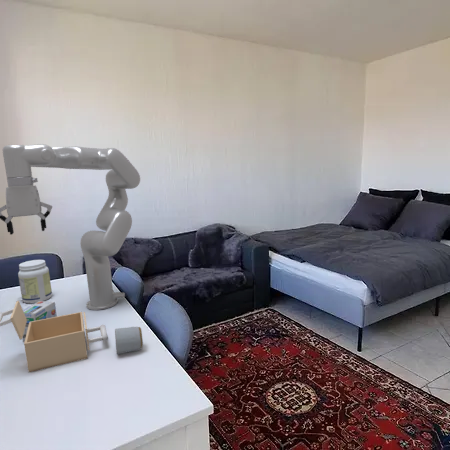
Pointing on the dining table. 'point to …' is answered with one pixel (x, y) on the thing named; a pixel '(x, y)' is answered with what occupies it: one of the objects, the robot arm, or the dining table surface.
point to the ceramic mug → (128, 339)
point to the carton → (58, 341)
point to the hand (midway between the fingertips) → (27, 232)
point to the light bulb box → (39, 313)
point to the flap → (15, 319)
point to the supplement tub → (34, 281)
